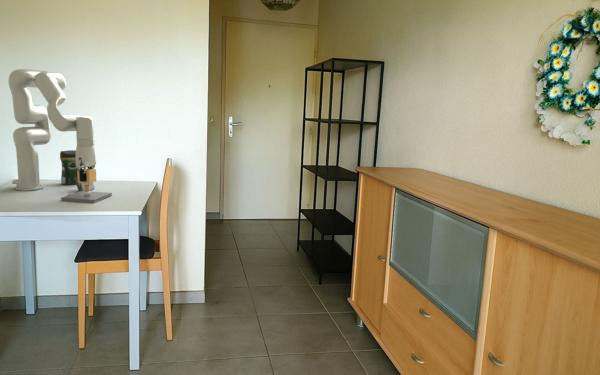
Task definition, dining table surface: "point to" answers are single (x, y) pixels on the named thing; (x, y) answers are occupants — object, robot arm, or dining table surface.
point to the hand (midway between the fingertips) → (87, 179)
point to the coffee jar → (68, 167)
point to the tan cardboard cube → (88, 176)
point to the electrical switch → (81, 187)
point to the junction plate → (86, 196)
